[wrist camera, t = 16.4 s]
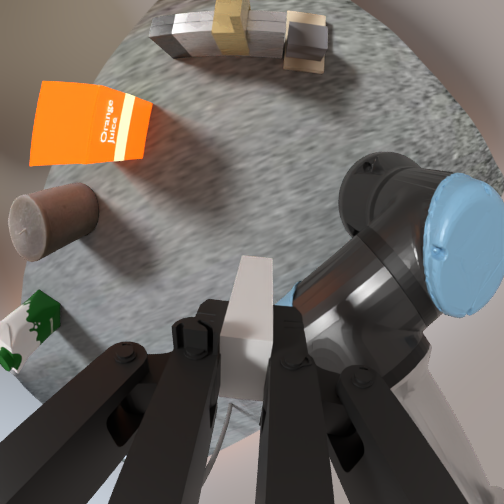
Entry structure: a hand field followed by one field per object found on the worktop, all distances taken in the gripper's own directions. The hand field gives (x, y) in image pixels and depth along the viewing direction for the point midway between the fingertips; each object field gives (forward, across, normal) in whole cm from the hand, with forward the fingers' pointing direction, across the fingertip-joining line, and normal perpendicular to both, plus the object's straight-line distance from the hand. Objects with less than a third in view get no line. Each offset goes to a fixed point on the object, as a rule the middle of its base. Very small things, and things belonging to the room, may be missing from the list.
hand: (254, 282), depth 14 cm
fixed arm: (+26, +7, -22) cm, 35 cm away
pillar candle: (+27, +32, +3) cm, 42 cm away
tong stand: (+26, -4, -24) cm, 36 cm away
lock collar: (+23, +5, -23) cm, 33 cm away
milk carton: (+27, +46, +26) cm, 59 cm away
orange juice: (+27, +22, -10) cm, 36 cm away
